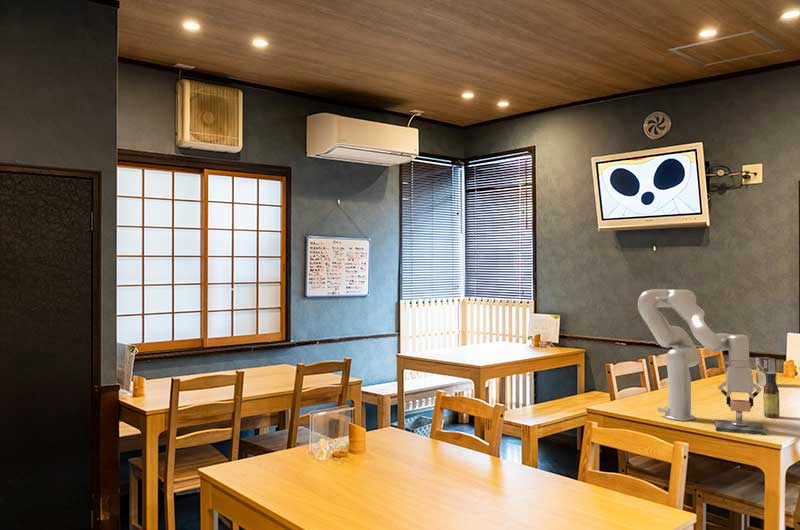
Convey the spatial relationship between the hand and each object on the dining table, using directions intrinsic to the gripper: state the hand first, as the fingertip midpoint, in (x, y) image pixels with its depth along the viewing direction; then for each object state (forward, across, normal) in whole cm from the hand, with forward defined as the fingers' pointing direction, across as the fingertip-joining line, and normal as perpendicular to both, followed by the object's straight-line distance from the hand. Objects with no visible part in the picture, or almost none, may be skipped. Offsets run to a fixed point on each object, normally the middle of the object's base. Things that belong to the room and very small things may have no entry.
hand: (739, 406), depth 273 cm
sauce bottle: (+9, +15, +32) cm, 37 cm away
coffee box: (+9, +22, +127) cm, 129 cm away
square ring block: (+1, 0, 0) cm, 1 cm away
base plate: (+9, 0, 0) cm, 9 cm away
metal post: (+8, 0, 0) cm, 8 cm away
